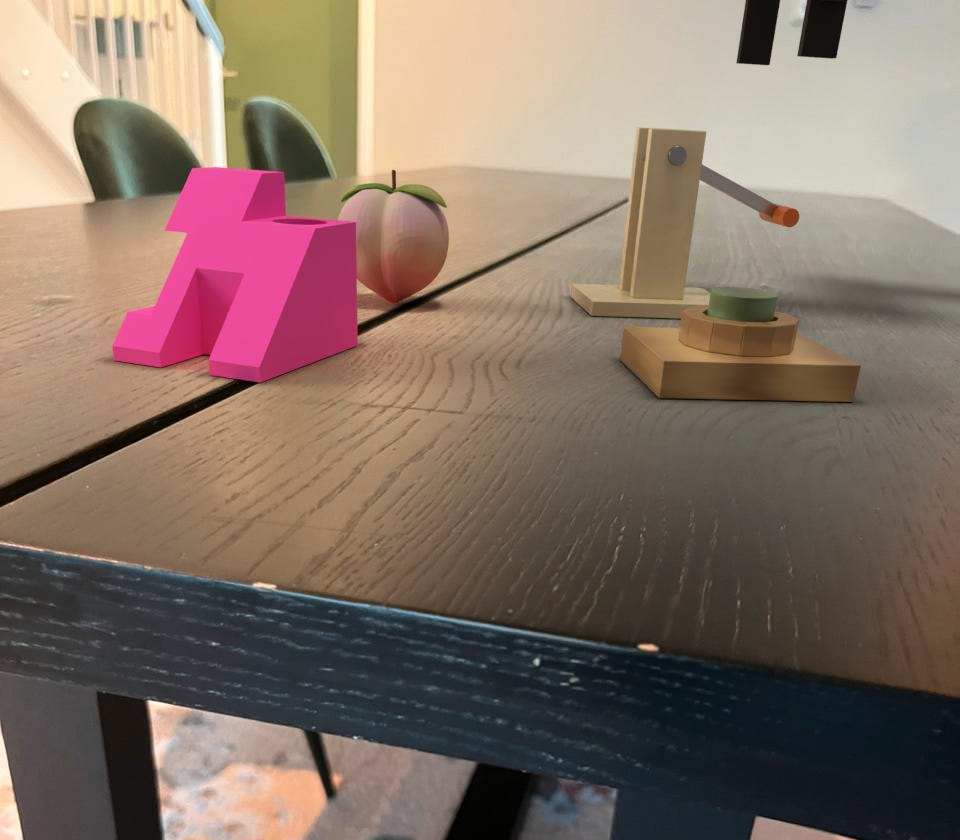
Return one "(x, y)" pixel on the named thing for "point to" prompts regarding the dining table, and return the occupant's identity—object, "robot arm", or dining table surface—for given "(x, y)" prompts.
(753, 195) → the lever
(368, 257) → the decorative fruit
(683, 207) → the bracket
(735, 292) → the button
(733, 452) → the dining table surface
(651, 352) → the button block
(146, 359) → the bracket
